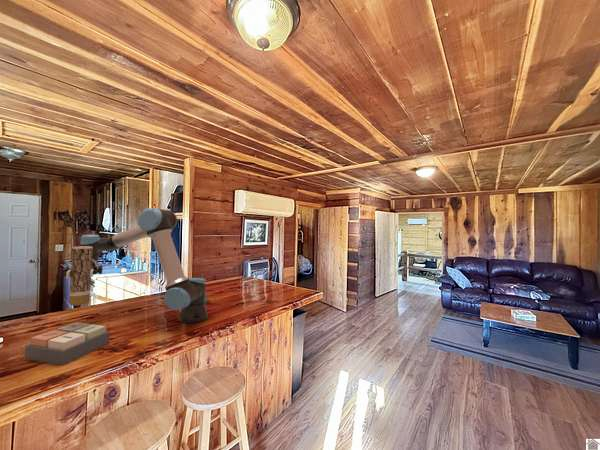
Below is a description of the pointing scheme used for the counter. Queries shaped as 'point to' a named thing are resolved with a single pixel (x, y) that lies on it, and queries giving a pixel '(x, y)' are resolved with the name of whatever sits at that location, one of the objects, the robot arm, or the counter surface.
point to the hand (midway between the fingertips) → (79, 274)
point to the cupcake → (206, 296)
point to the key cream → (66, 341)
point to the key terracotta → (45, 338)
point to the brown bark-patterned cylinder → (80, 275)
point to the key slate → (73, 327)
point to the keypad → (65, 351)
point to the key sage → (91, 331)
